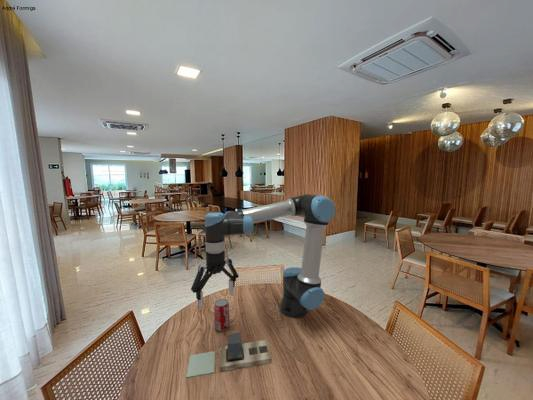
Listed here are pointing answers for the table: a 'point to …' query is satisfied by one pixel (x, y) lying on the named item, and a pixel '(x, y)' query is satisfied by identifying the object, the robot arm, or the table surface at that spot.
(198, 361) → the mat
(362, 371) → the table surface
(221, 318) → the soda can
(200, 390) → the table surface
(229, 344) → the block
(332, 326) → the table surface
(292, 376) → the table surface
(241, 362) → the plate
